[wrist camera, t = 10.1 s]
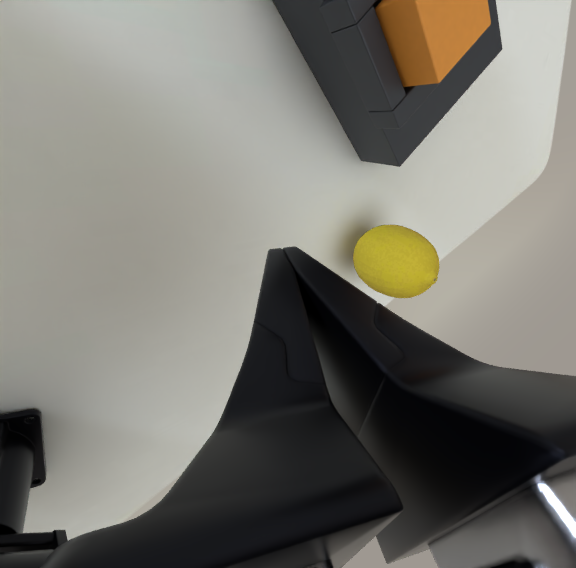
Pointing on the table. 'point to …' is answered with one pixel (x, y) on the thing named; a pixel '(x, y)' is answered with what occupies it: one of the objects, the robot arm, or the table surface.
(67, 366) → the table surface
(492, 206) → the table surface
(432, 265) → the lemon
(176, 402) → the table surface
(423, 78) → the key
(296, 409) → the robot arm
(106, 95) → the table surface
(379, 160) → the push button
